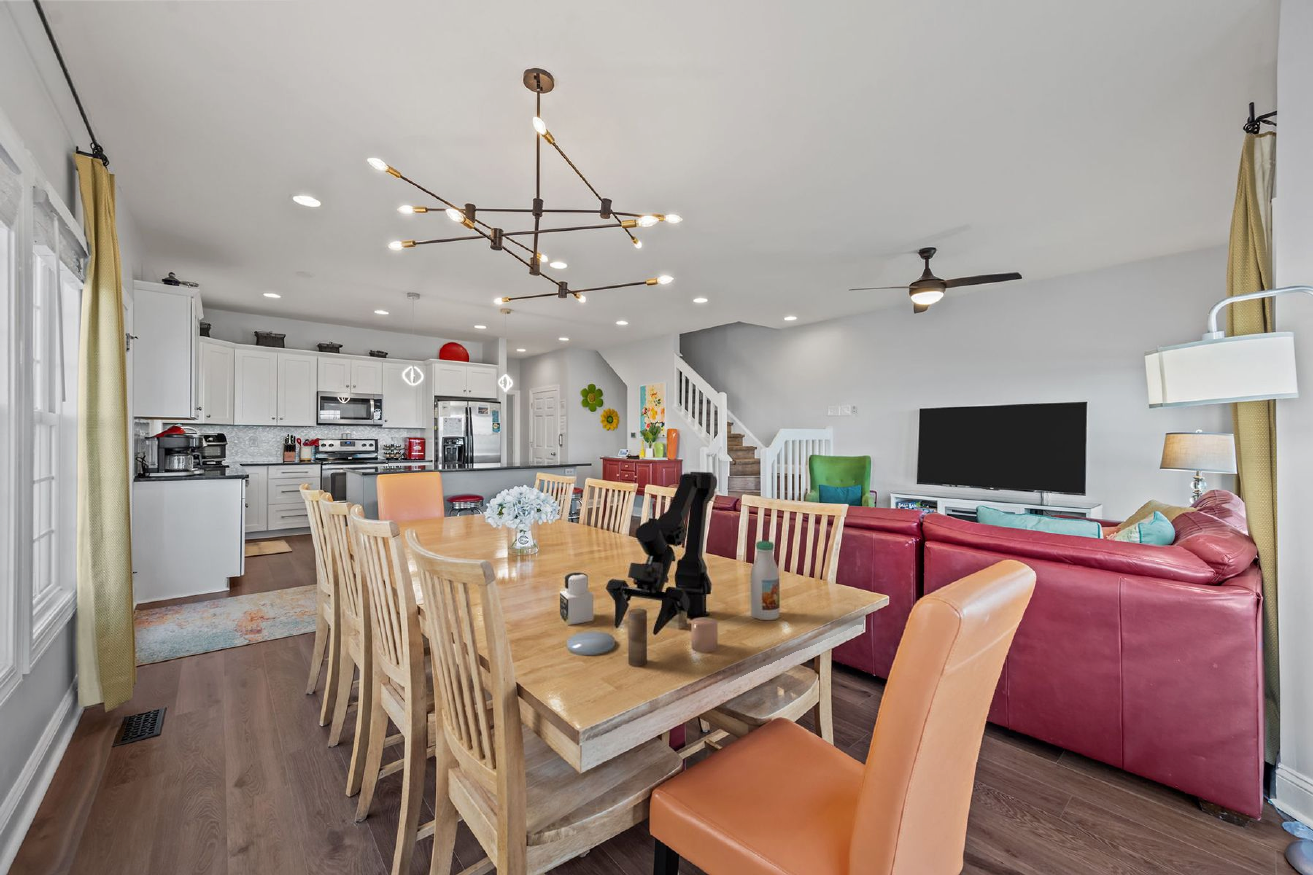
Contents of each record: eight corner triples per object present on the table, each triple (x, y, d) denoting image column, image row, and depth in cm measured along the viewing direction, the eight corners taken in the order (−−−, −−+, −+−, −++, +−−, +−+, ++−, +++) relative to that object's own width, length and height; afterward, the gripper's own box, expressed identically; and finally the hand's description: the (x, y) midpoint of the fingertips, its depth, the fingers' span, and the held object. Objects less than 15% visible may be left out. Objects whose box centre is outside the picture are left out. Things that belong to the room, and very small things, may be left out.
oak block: (673, 622, 138) (673, 606, 138) (686, 625, 136) (686, 609, 136) (665, 626, 135) (665, 611, 135) (678, 630, 132) (678, 614, 132)
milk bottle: (750, 620, 139) (750, 544, 139) (750, 610, 147) (750, 539, 146) (780, 621, 138) (780, 545, 138) (778, 612, 145) (778, 539, 145)
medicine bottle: (559, 617, 142) (559, 572, 142) (584, 612, 145) (584, 569, 145) (567, 625, 135) (567, 579, 135) (593, 621, 139) (593, 575, 138)
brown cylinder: (640, 657, 116) (640, 607, 116) (650, 663, 113) (650, 612, 113) (624, 661, 114) (624, 610, 114) (634, 668, 110) (634, 616, 110)
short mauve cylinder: (706, 640, 125) (706, 615, 125) (723, 649, 120) (723, 622, 120) (686, 646, 122) (686, 620, 122) (702, 655, 117) (702, 628, 117)
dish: (600, 633, 130) (600, 628, 130) (623, 647, 121) (623, 642, 121) (559, 643, 124) (559, 637, 124) (580, 659, 115) (580, 653, 115)
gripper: (609, 543, 121) (583, 605, 111) (684, 551, 113) (663, 618, 103) (626, 570, 128) (602, 630, 118) (698, 579, 120) (679, 644, 110)
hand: (634, 630), depth 112 cm, fingers open, 9 cm apart
